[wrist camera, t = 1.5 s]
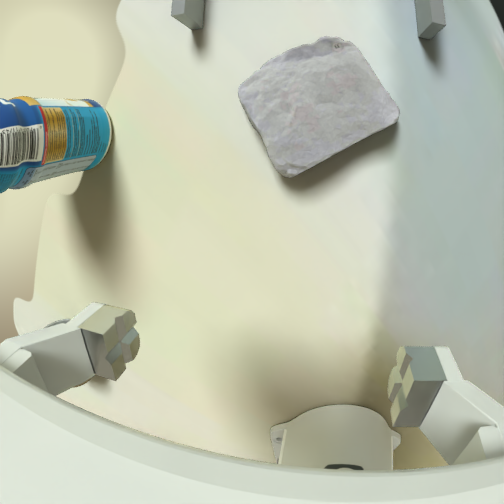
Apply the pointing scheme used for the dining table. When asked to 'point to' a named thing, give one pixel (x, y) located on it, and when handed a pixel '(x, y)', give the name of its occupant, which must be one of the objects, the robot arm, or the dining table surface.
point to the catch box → (426, 4)
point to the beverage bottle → (50, 138)
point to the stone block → (315, 103)
